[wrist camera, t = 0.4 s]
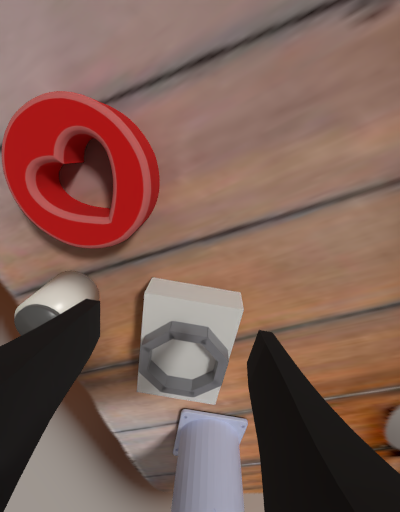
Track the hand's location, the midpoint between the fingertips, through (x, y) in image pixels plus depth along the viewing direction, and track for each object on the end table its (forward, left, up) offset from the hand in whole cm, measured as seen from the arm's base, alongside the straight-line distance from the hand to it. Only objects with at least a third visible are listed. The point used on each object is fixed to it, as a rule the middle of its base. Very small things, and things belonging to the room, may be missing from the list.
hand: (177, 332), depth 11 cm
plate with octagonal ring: (-9, -1, -10) cm, 14 cm away
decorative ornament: (+4, +8, -10) cm, 14 cm away
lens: (-6, +10, -10) cm, 16 cm away
